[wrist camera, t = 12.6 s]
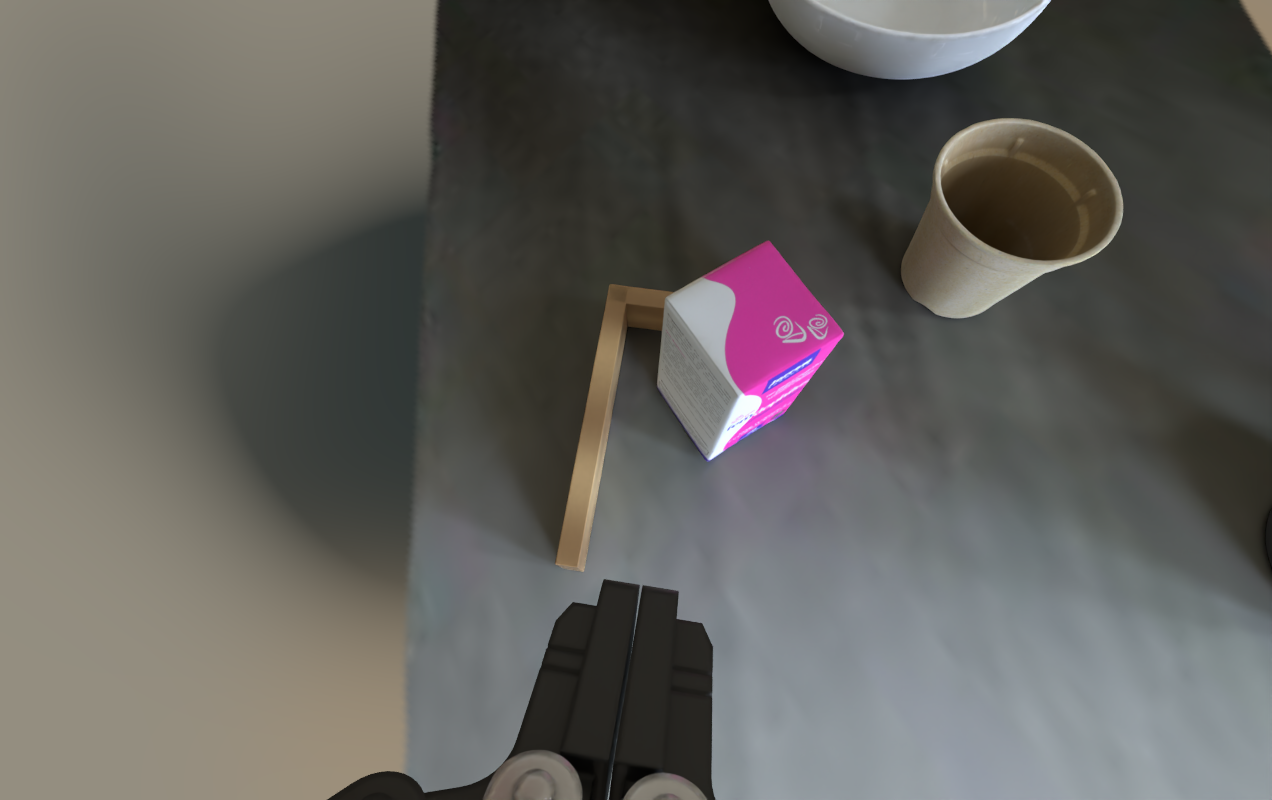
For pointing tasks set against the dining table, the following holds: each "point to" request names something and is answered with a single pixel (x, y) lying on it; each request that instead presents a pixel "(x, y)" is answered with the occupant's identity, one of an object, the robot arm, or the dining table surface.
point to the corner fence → (602, 413)
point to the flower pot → (1007, 214)
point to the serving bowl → (905, 32)
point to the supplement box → (740, 347)
